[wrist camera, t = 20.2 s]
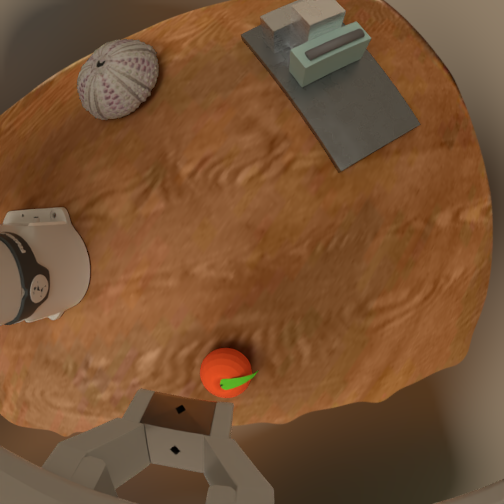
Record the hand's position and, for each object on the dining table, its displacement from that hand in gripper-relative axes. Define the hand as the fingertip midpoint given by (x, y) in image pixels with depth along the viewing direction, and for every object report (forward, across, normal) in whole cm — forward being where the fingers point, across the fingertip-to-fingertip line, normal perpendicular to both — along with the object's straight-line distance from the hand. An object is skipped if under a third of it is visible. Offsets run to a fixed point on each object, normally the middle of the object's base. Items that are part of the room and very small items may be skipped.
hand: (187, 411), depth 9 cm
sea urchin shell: (+37, +21, -21) cm, 47 cm away
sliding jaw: (+33, -8, -25) cm, 42 cm away
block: (+34, -6, -27) cm, 44 cm away
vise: (+35, -10, -23) cm, 43 cm away
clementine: (+32, 0, +18) cm, 36 cm away
